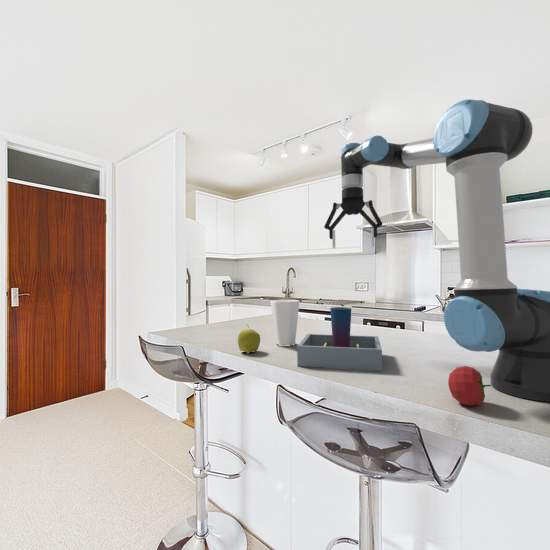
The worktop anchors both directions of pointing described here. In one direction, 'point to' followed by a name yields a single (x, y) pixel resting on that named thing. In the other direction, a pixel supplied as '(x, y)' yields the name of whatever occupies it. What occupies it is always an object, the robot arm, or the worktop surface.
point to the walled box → (340, 353)
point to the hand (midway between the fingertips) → (353, 247)
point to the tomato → (467, 386)
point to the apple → (248, 340)
